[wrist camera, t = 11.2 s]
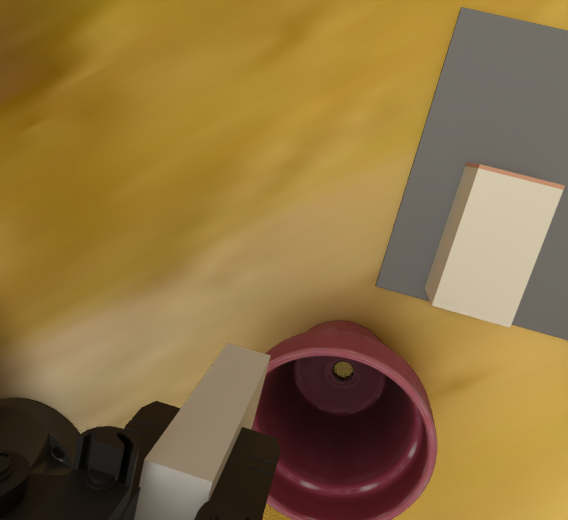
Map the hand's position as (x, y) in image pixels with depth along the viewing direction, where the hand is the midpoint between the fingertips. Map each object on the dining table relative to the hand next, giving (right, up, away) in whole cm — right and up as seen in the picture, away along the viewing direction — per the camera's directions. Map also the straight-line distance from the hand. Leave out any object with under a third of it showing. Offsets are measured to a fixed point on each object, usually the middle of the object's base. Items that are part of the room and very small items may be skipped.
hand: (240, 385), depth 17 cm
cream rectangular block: (+19, +11, +21) cm, 30 cm away
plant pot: (+7, -6, +30) cm, 31 cm away
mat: (+21, +10, +24) cm, 33 cm away
